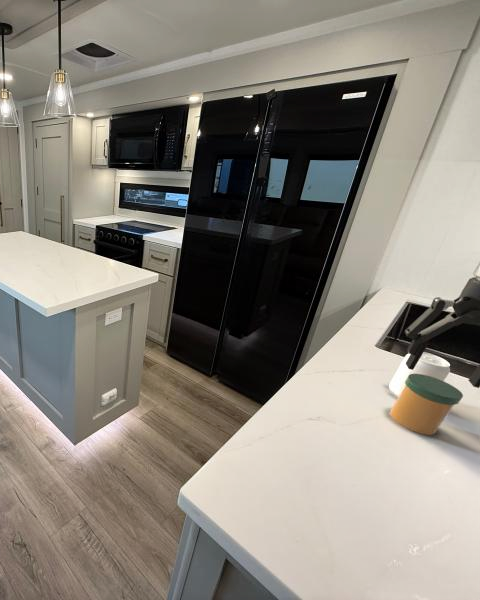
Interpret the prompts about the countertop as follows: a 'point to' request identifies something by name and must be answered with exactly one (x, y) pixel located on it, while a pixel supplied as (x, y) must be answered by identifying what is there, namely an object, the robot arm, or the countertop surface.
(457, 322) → the robot arm
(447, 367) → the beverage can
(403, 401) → the jar
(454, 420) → the countertop surface
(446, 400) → the jar lid
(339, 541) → the countertop surface
